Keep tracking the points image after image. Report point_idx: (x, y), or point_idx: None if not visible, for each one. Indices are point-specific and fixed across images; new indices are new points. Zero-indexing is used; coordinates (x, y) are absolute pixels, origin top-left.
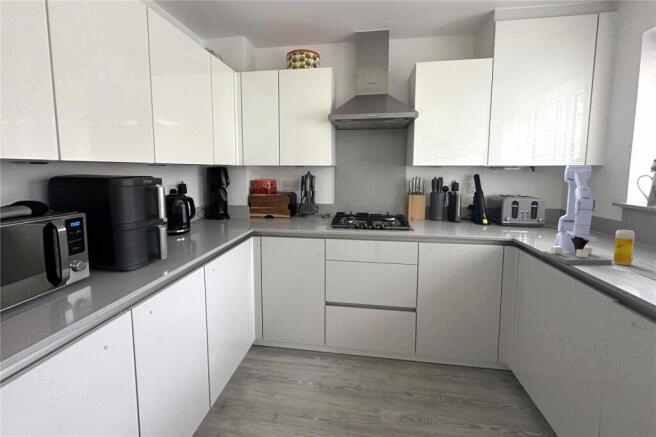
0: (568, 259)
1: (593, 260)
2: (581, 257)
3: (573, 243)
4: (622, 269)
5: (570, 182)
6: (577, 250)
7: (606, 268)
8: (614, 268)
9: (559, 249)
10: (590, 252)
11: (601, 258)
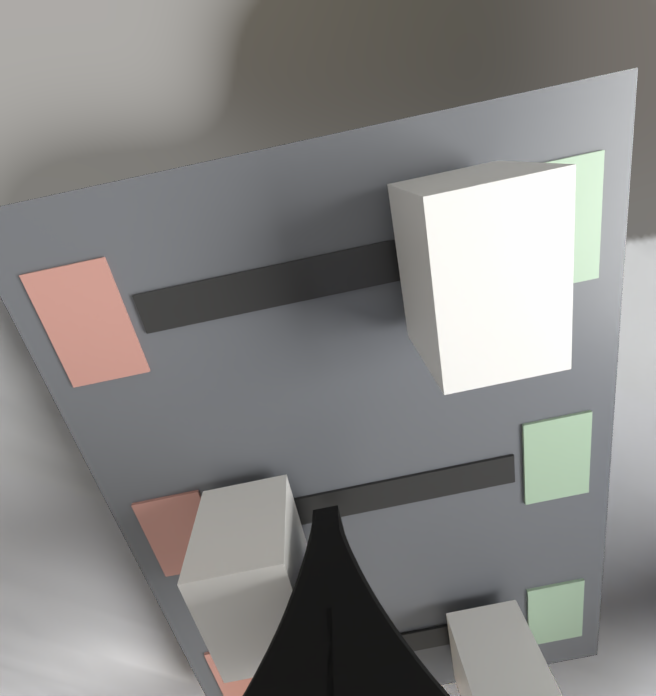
0: (19, 262)
1: (149, 579)
2: None
3: (391, 647)
4: (60, 680)
5: None
6: (259, 554)
7: (29, 583)
8: (70, 641)
9: (423, 306)
10: (459, 684)
11: None
